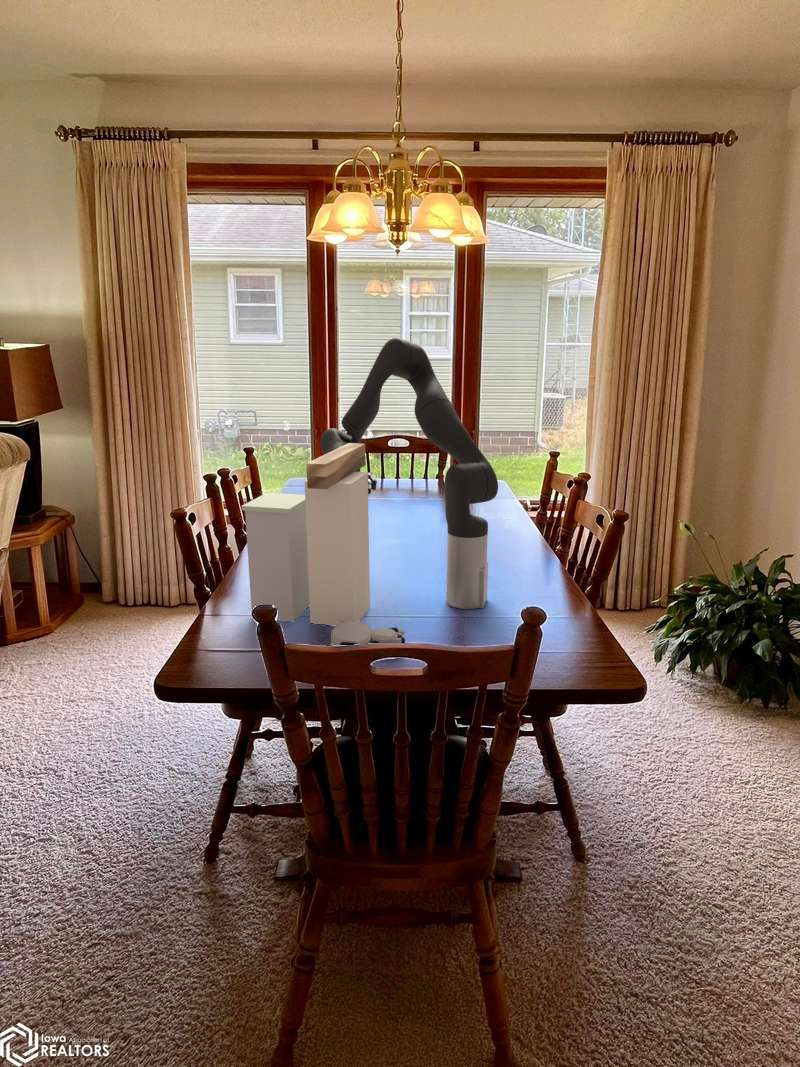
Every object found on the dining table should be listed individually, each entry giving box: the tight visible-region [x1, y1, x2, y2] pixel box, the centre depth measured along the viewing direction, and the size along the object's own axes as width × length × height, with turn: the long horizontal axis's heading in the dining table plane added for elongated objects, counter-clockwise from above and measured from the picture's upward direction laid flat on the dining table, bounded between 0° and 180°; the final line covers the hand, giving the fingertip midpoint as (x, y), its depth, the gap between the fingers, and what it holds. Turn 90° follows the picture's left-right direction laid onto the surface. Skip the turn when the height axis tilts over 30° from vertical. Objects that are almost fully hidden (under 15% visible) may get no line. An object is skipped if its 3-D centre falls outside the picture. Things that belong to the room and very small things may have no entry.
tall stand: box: [304, 471, 371, 626], centre depth 157 cm, size 10×12×32 cm
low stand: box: [241, 492, 310, 622], centre depth 161 cm, size 11×13×26 cm
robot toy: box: [329, 619, 406, 646], centre depth 144 cm, size 12×4×15 cm
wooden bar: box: [305, 442, 366, 489], centre depth 153 cm, size 4×26×5 cm, turn 165°
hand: (349, 490), depth 170 cm, fingers open, 8 cm apart
